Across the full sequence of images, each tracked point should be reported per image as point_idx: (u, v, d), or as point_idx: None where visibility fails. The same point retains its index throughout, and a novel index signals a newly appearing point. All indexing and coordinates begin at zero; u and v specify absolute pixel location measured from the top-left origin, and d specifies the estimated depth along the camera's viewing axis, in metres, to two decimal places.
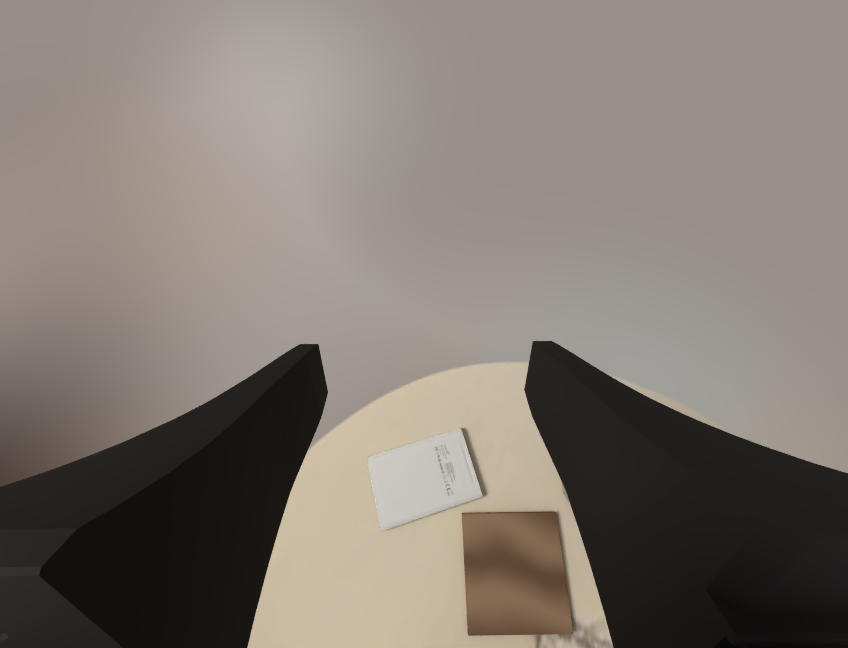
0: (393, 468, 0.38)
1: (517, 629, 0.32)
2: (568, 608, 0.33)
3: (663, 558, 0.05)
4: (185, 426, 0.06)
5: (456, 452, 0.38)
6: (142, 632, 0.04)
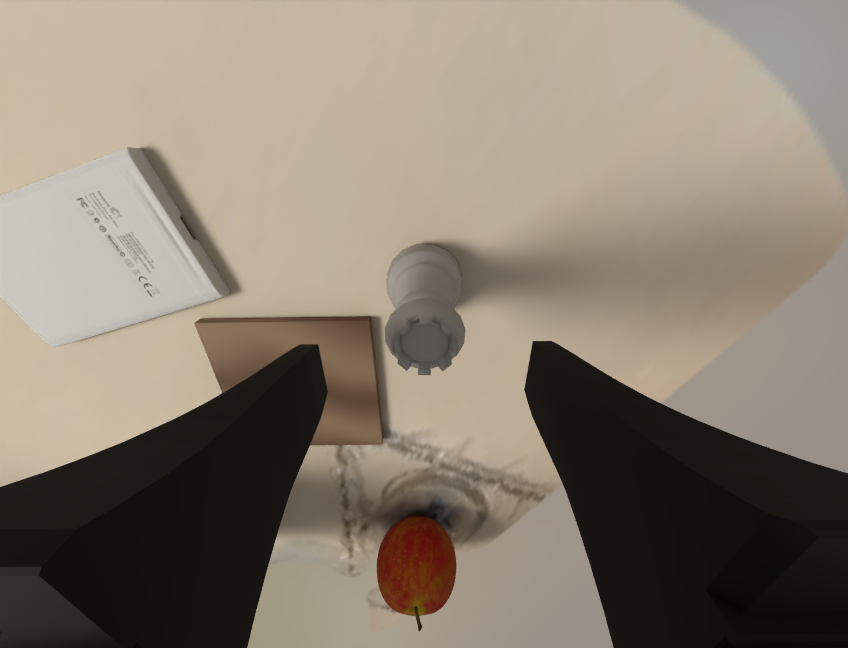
0: (5, 246, 0.17)
1: None
2: (378, 424, 0.23)
3: (663, 558, 0.05)
4: (185, 426, 0.06)
5: (135, 210, 0.16)
6: (143, 632, 0.04)
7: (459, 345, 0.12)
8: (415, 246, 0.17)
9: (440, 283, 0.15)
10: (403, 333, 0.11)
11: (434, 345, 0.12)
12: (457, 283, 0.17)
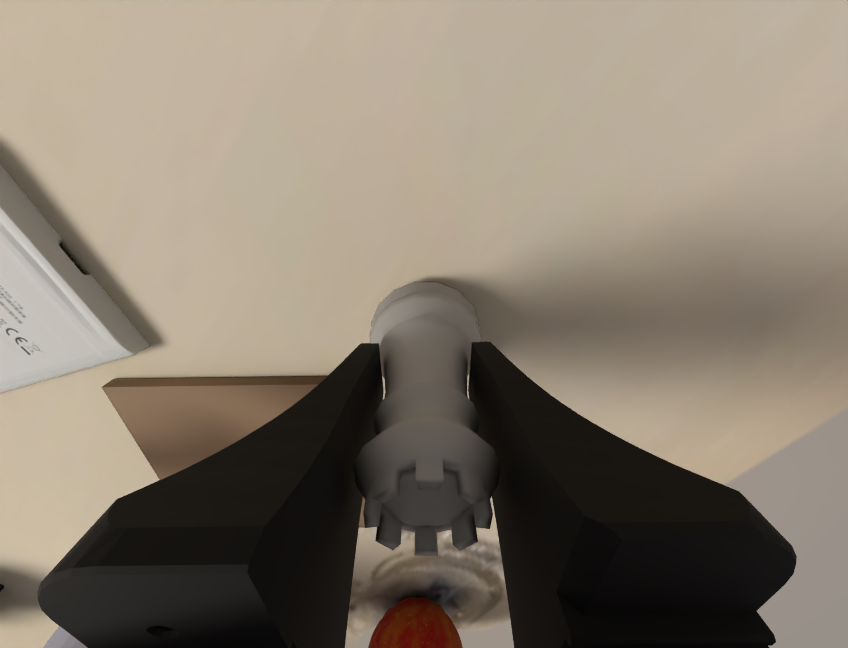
0: None
1: None
2: None
3: (536, 559, 0.05)
4: (290, 425, 0.06)
5: None
6: (296, 630, 0.04)
7: (490, 496, 0.07)
8: (412, 285, 0.12)
9: (451, 355, 0.09)
10: (384, 500, 0.06)
11: (445, 507, 0.06)
12: None
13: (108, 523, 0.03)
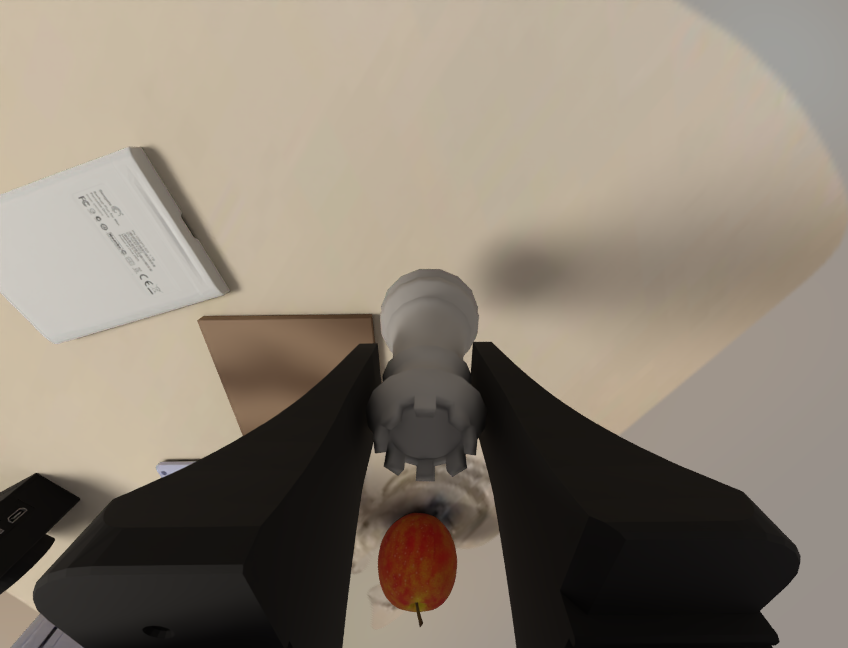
0: (7, 244, 0.17)
1: None
2: None
3: (539, 559, 0.05)
4: (288, 425, 0.06)
5: (136, 208, 0.16)
6: (292, 630, 0.04)
7: (478, 434, 0.08)
8: (416, 272, 0.13)
9: (449, 328, 0.11)
10: (390, 427, 0.07)
11: (439, 439, 0.08)
12: (472, 321, 0.13)
13: (105, 523, 0.03)
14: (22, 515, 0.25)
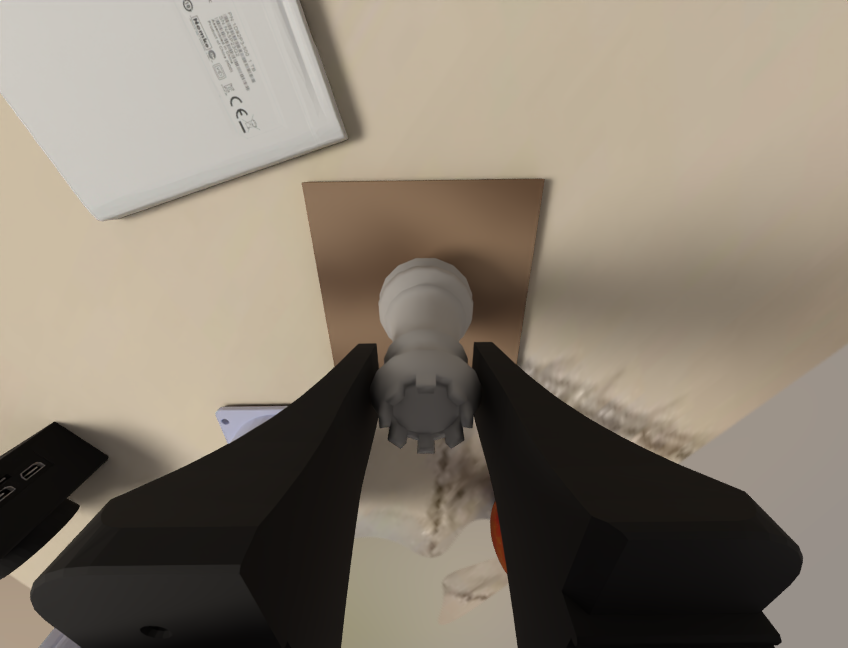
0: (41, 37, 0.11)
1: None
2: (516, 346, 0.18)
3: (541, 559, 0.05)
4: (286, 425, 0.06)
5: None
6: (290, 630, 0.04)
7: (474, 410, 0.09)
8: (413, 261, 0.14)
9: (446, 313, 0.11)
10: (394, 403, 0.08)
11: (439, 414, 0.08)
12: (467, 308, 0.13)
13: (103, 522, 0.03)
14: (39, 471, 0.20)
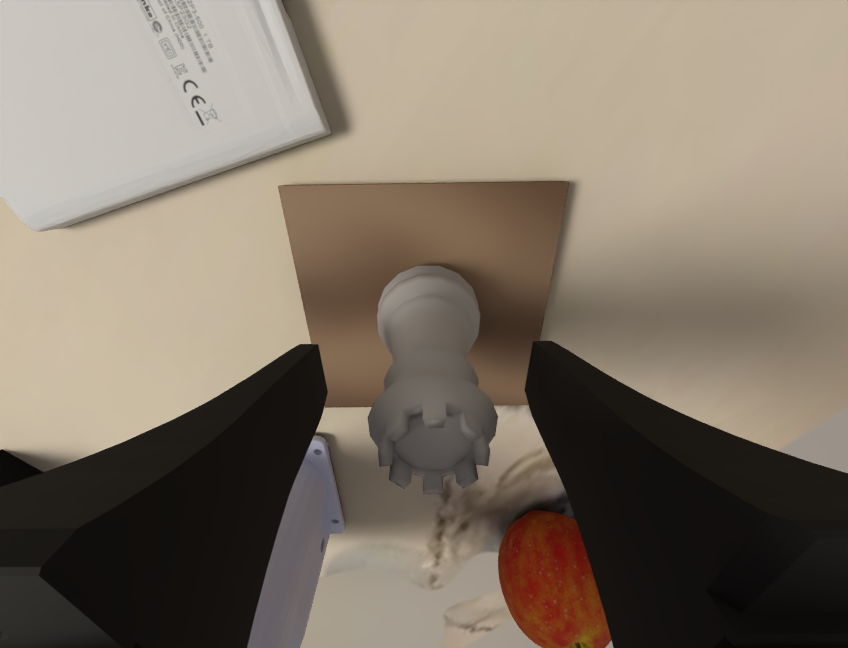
0: None
1: None
2: None
3: (663, 558, 0.05)
4: (185, 426, 0.06)
5: None
6: (142, 631, 0.04)
7: (488, 442, 0.08)
8: (415, 269, 0.13)
9: (452, 328, 0.10)
10: (396, 439, 0.07)
11: (449, 449, 0.07)
12: (474, 320, 0.12)
13: None
14: None
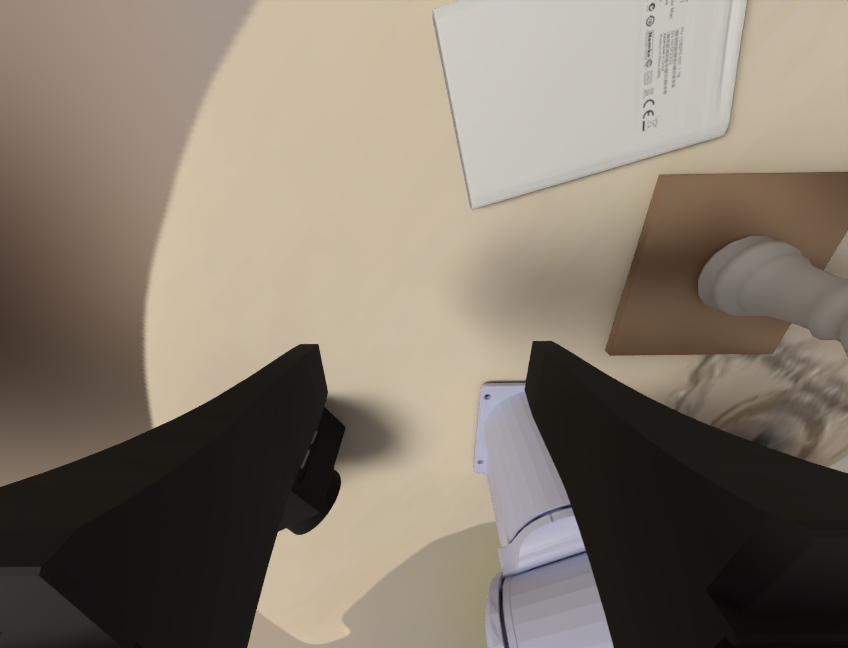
0: (512, 47, 0.13)
1: (689, 349, 0.21)
2: (787, 326, 0.20)
3: (663, 558, 0.05)
4: (185, 426, 0.06)
5: None
6: (143, 631, 0.04)
7: None
8: (749, 238, 0.17)
9: None
10: None
11: None
12: None
13: None
14: (315, 437, 0.21)
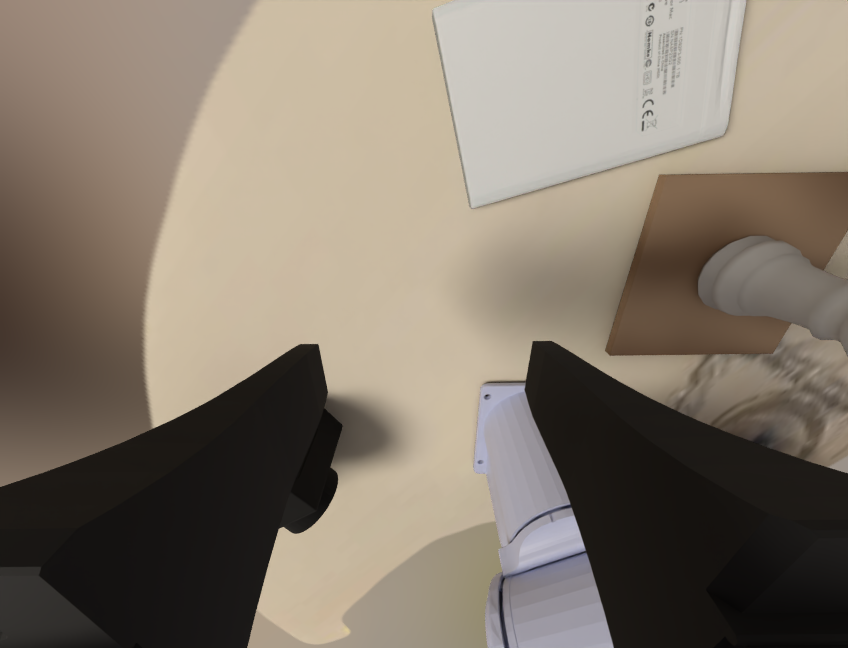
0: (511, 47, 0.13)
1: (689, 349, 0.21)
2: (787, 326, 0.20)
3: (663, 558, 0.05)
4: (184, 426, 0.06)
5: None
6: (142, 631, 0.04)
7: None
8: (749, 238, 0.17)
9: None
10: None
11: None
12: None
13: None
14: None
